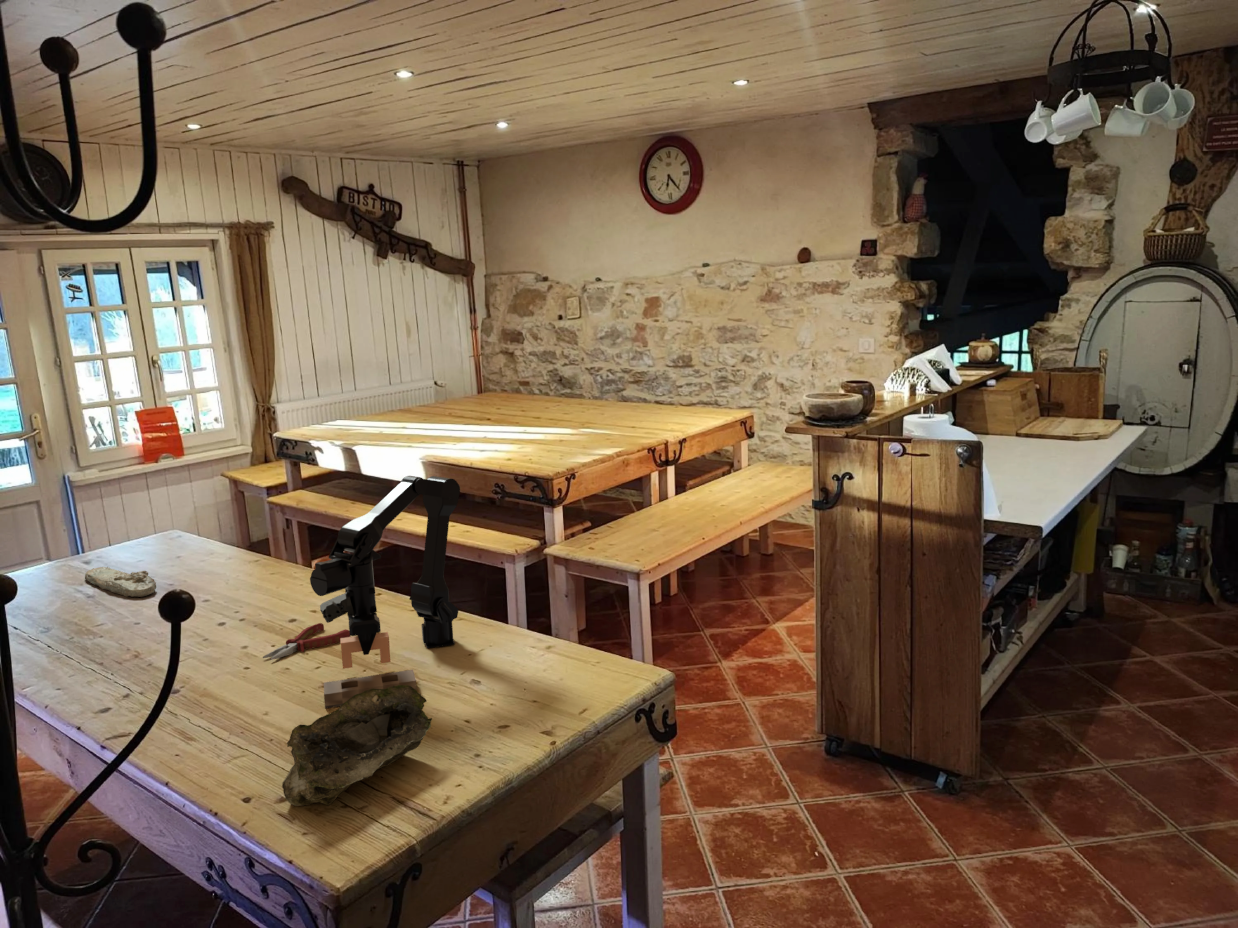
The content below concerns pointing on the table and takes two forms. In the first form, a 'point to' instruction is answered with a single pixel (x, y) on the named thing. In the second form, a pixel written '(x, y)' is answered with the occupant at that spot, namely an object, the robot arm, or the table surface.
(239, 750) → the table surface
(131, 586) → the elongated rock
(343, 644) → the clip
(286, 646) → the pliers
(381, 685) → the rail
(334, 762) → the hollow geode rock
